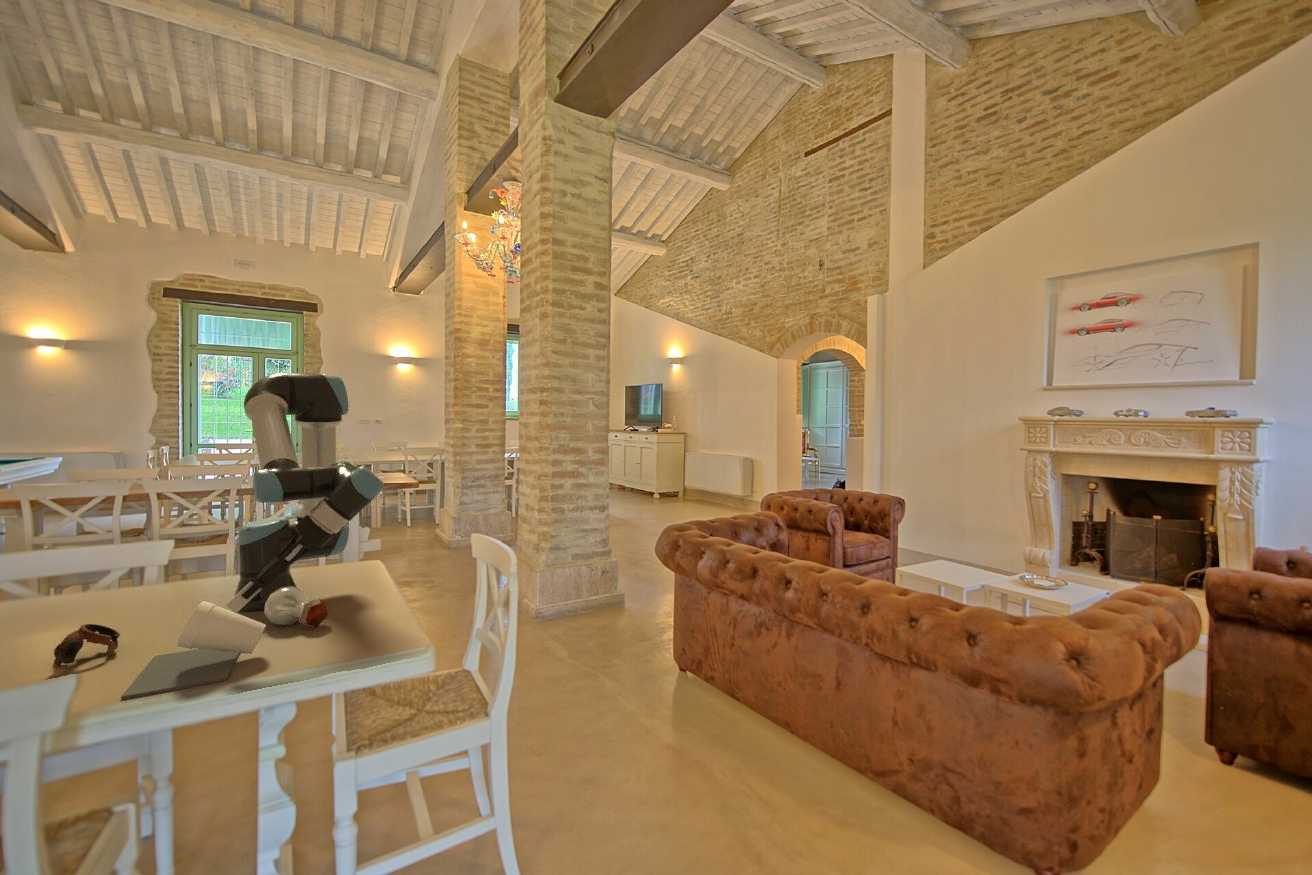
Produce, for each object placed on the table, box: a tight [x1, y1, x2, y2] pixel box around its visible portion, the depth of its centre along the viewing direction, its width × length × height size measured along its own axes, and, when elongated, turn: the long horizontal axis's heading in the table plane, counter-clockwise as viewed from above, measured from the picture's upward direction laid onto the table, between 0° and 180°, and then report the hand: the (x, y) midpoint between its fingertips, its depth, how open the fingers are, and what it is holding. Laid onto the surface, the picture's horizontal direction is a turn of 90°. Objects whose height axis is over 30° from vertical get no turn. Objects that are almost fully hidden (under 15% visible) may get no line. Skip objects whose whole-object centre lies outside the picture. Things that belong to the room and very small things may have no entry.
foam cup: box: [176, 600, 267, 655], centre depth 122 cm, size 10×9×13 cm
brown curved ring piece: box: [53, 623, 121, 667], centre depth 124 cm, size 12×9×8 cm
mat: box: [120, 648, 241, 700], centre depth 119 cm, size 16×20×1 cm
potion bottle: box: [263, 586, 329, 628], centre depth 144 cm, size 9×10×15 cm
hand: (231, 608), depth 122 cm, fingers closed
